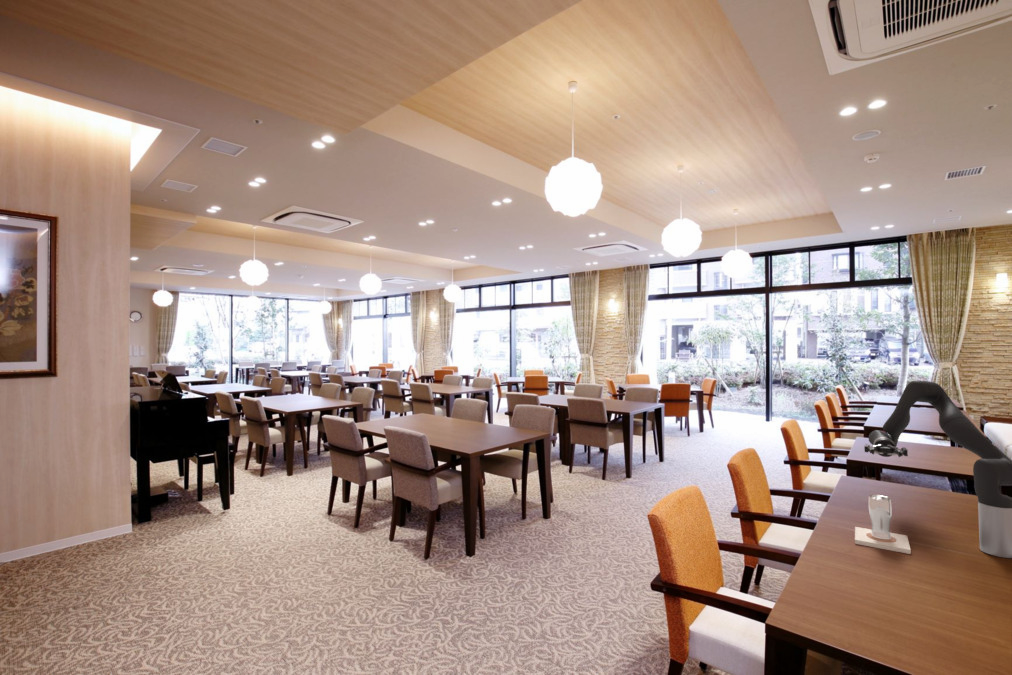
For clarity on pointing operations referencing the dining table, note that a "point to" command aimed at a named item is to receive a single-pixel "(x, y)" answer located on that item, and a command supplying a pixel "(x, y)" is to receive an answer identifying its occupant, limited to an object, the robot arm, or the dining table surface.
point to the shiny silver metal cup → (880, 516)
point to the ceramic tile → (882, 541)
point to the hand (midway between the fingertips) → (886, 453)
